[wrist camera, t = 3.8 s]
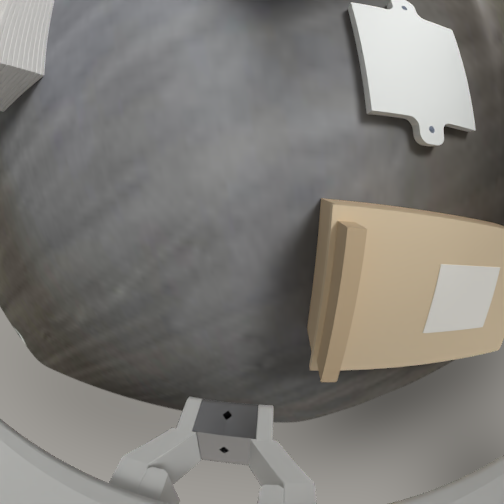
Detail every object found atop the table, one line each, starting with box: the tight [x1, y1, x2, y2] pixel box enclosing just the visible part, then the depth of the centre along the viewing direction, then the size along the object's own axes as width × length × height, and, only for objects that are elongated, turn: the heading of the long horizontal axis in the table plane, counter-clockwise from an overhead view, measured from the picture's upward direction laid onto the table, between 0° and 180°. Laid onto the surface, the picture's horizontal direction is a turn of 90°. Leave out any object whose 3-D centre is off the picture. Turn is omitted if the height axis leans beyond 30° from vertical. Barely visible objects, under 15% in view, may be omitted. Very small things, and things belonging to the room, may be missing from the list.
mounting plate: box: [348, 0, 476, 146], centre depth 18 cm, size 18×13×2 cm
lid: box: [309, 204, 504, 382], centre depth 17 cm, size 23×13×3 cm, turn 88°
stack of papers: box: [0, 0, 54, 112], centre depth 14 cm, size 32×11×11 cm, turn 12°
